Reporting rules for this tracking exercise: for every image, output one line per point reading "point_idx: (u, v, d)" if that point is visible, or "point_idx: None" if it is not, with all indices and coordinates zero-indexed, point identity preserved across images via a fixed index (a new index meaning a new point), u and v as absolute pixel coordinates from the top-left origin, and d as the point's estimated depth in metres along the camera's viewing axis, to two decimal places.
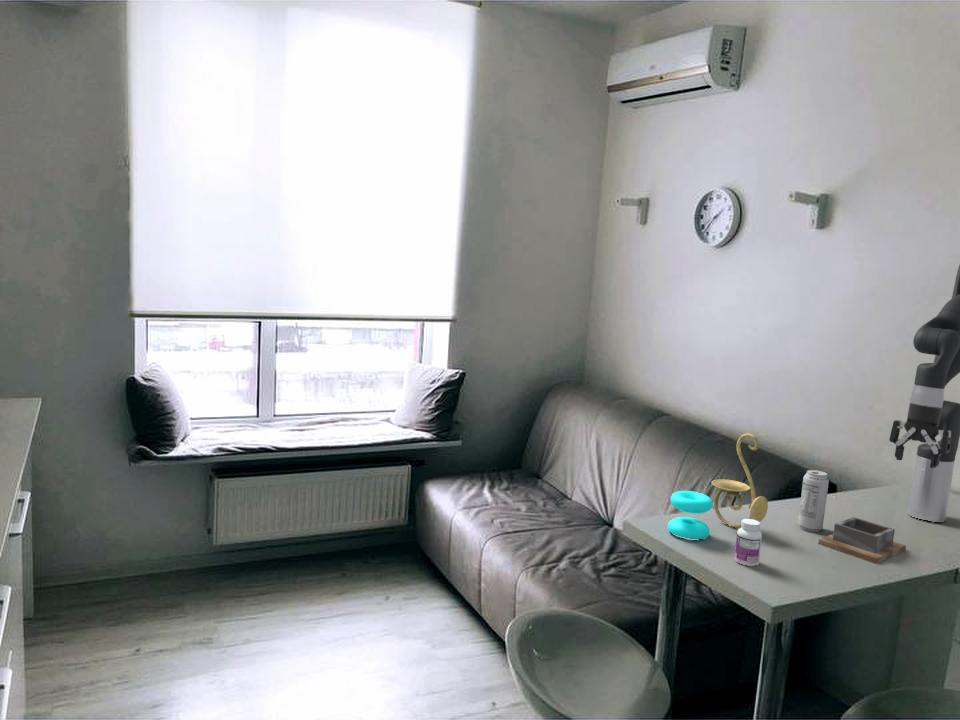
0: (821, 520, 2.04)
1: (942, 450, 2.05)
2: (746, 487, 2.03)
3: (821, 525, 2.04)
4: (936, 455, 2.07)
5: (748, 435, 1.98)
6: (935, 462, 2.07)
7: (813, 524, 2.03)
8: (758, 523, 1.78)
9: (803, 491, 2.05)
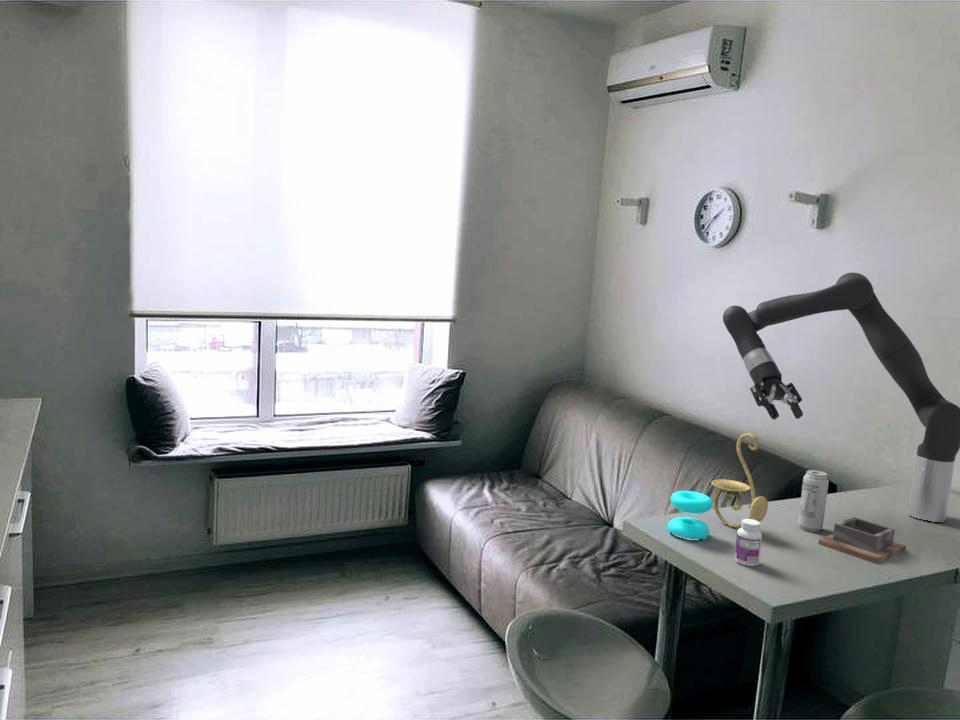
0: (821, 520, 2.04)
1: None
2: (746, 487, 2.03)
3: (821, 525, 2.04)
4: None
5: (748, 435, 1.98)
6: None
7: (813, 524, 2.03)
8: (758, 523, 1.78)
9: (803, 491, 2.05)
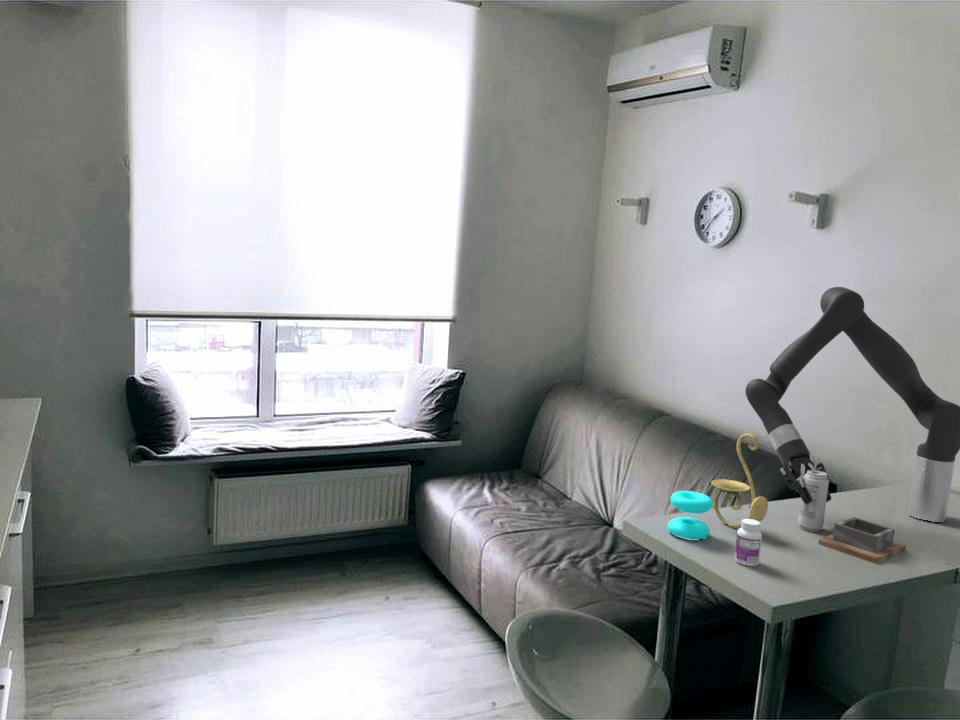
0: (821, 520, 2.04)
1: None
2: (746, 487, 2.03)
3: (821, 525, 2.04)
4: None
5: (748, 435, 1.98)
6: None
7: (813, 524, 2.03)
8: (758, 523, 1.78)
9: None
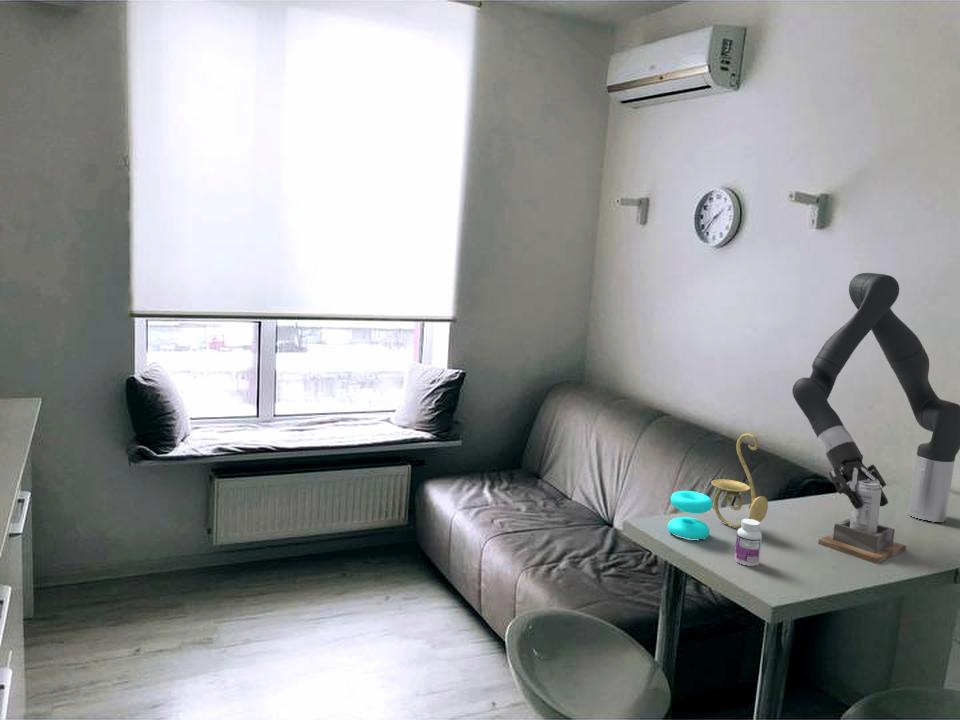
0: (874, 532, 1.93)
1: None
2: (746, 487, 2.03)
3: None
4: None
5: (748, 435, 1.98)
6: None
7: None
8: (758, 523, 1.78)
9: None
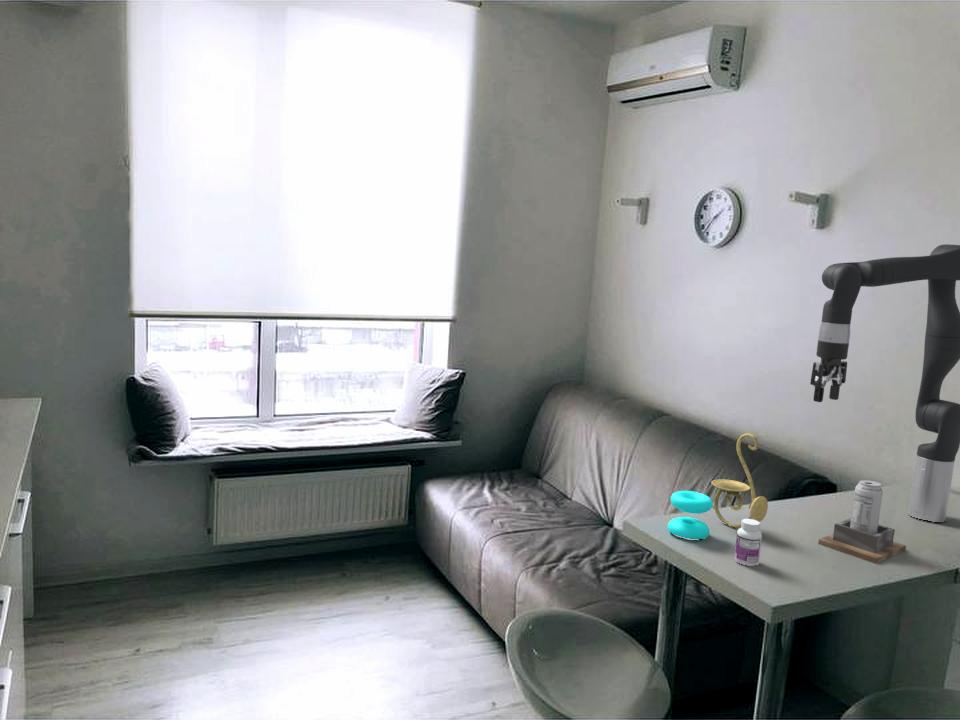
0: (875, 533, 1.93)
1: None
2: (746, 487, 2.03)
3: None
4: None
5: (748, 435, 1.98)
6: None
7: None
8: (758, 523, 1.78)
9: (855, 502, 1.94)
